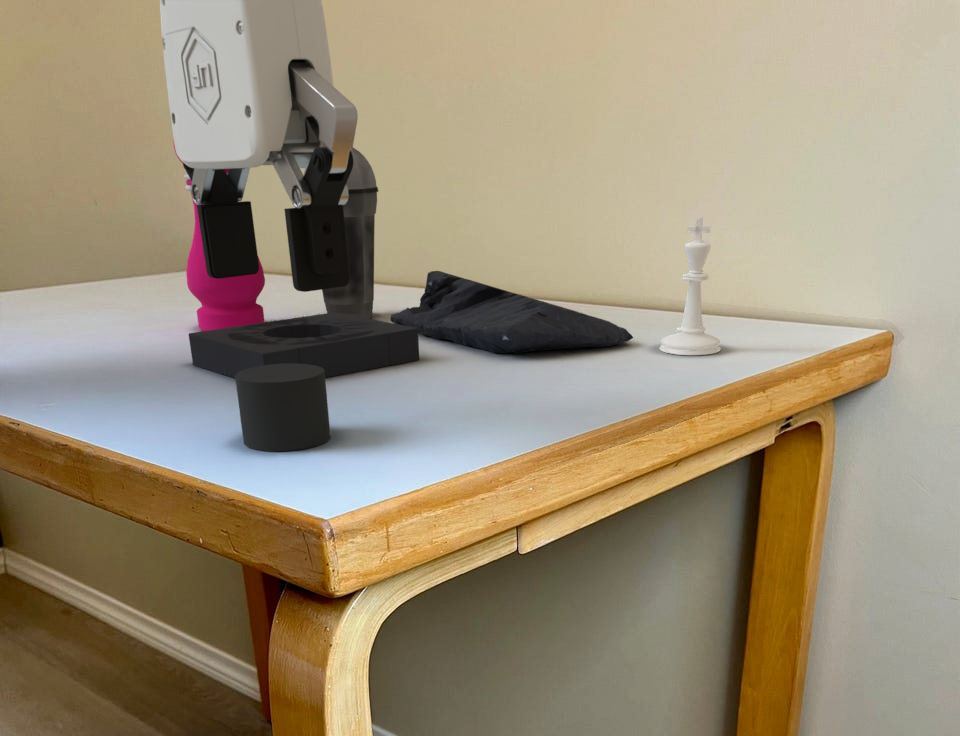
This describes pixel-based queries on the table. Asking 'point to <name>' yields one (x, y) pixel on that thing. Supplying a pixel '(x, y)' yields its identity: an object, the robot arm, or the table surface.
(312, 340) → the base pad
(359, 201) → the beverage cup
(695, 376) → the table surface
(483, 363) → the table surface
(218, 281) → the pepper mill
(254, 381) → the dark gray cylinder
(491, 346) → the black fabric pouch
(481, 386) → the table surface
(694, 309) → the chess piece
